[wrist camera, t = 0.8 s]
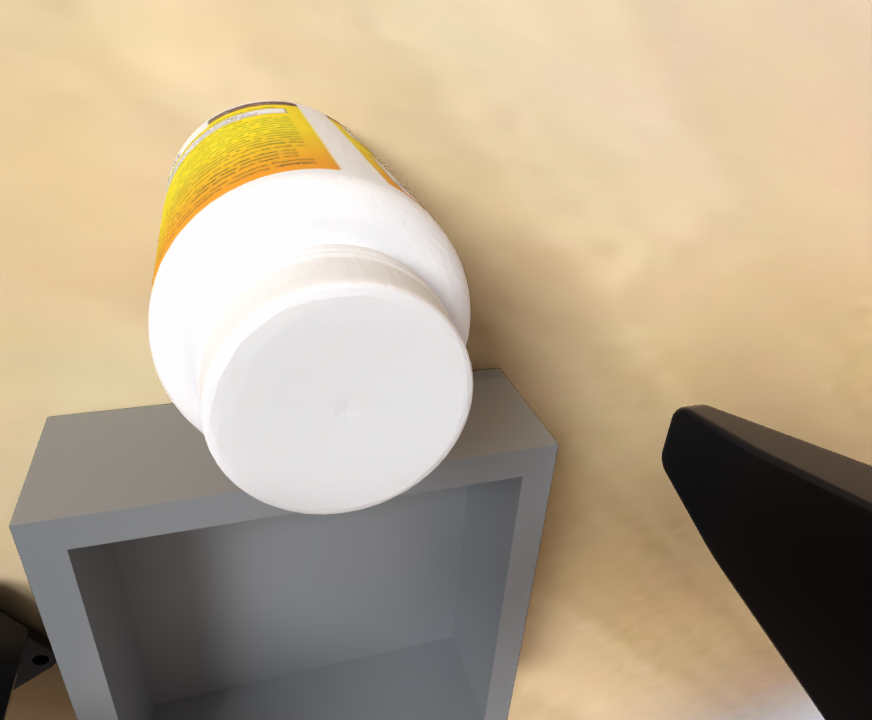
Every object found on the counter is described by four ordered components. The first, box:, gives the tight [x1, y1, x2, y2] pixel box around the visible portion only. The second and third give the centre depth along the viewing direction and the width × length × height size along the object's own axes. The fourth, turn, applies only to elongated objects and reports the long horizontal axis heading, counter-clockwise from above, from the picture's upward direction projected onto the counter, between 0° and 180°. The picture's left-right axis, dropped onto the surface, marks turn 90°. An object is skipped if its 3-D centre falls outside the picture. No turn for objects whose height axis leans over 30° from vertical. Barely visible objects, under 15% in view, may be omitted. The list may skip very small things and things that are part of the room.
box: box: [9, 368, 558, 720], centre depth 22 cm, size 14×14×4 cm
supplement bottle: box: [149, 100, 473, 515], centre depth 14 cm, size 6×6×10 cm
